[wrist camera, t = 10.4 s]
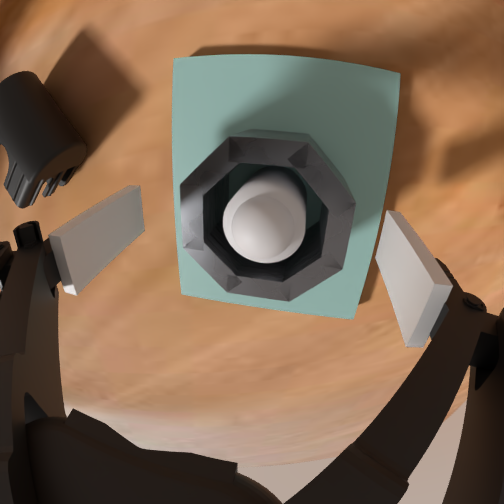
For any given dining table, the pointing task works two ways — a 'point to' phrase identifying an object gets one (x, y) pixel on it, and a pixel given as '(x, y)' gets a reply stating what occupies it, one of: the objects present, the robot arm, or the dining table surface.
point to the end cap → (35, 139)
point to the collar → (217, 198)
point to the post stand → (286, 178)
